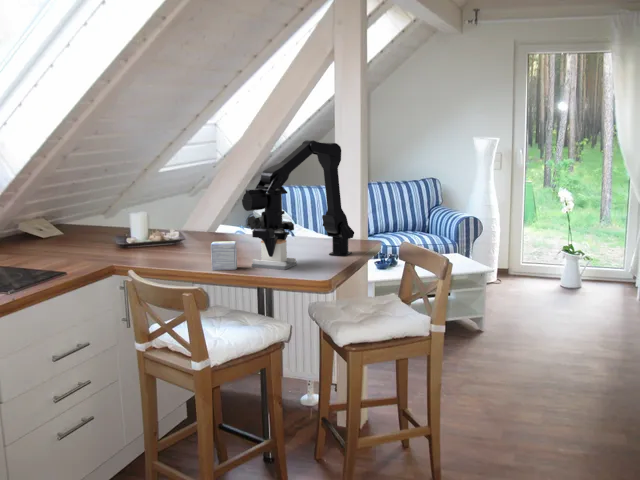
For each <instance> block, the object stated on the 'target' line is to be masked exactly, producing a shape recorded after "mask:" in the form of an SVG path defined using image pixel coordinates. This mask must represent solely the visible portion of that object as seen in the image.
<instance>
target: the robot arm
mask: <svg viewBox="0 0 640 480" xmlns="http://www.w3.org/2000/svg"><path fill="white" fill-rule="evenodd" d="M312 155H314V156H315V155H316V156H317V160H318V163H319V165H320V166H321V168H322V170H323V178H324V187H325V198H326V206H327V207H326V208H327V210H326V212H325V213H324V214H323V215H321V218H322V219H321V220H322V227H323V228H324V231H326V234H327V237H329V238H330V237H331V238H332V239H331V240H332V241H331V243H332V251H331V252H329V253H328V255H329V256H341V257H347V256H349V255H351V254H352V253H353V252H352V251H349V240H350V239H354V235H355V232H354V230H353V229H352V228H351V226H349V225H350V224H349V222H348V218H347V215H346V213H345V212H344V210H343V208H342V200H341V199H342V198H341V191H340V189H341V188H340V180H339V167H340V163H341V162H342V147H341V145H340V144H338V143H336V142H320V141H316V140H311V139H310V140H309V139H307V140H304V141H303V142H302V143H301V144H300V145H299V146H298V147H297V148H295V149H294V150H293V151H292V152H291V153H290V154H289V155H288V156H287V157H285V158H284V159H283V160H281V161H280V162H279V163H277V164H273V165H271V166H270V167H268V168H266V169H264V170H263V171H262V172H261V174H260V178H259V180H258V182H257V184H256V185H255V187H254V189H247V188H246V189H245V193H244V194H243V196H242V199H241V205H242V207H243V209H244V210H245V211H246V212H250V211H261V210H262V212H261V215H260V216H258V217H255V216H254V215H252V216H250V217H247V221H246V223H247V224H246V225H247V226H248V227H249V228H250V230H251V232H252V235H251V237H252V238H256V239H257V238H258V239H260V240H261V241H262V240H263V241H264V243H265V246H266V249H267V252H268V254H269V257H272V256H273V254H274V250H275V246H276V242H277V239H279V240H286V241H287V238H288V236H289V235H290V232H292V231H294V230H295V224H294V223H293V222H292V221H283V215H285V213H286V211H285V210H283V195H286V194H288V191H287V190H286V189H285V188H284V187H283V186H284V185H285V183H286V182H287V181H288V179H289V177H290V174H291V173H292V172H293V171H295V170H296V168H298V167H299V166H300V165H301V164H302V163H304V162H305V161H306V160H307V159H308V158H309V157H311V156H312ZM263 210H264V211H263ZM287 230H288V231H287Z"/></svg>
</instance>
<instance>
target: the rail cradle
mask: <svg viewBox="0 0 640 480" xmlns="http://www.w3.org/2000/svg"><path fill="white" fill-rule="evenodd" d="M296 260H297V258H295V257H287V261H285V262H277V261H265V260H262V259H252V263H251V267H252V268H258V267H259V269H260V268H261V269H269V268H270V270H283V271H285V270H287V269H290V268H292V267H294V266H296V265H298V263H297V262H298V261H296Z"/></svg>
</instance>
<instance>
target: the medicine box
mask: <svg viewBox="0 0 640 480" xmlns="http://www.w3.org/2000/svg"><path fill="white" fill-rule="evenodd" d="M237 249H238V248H237V241H233V240H232V241H212V243H211V244H210V255H211V256H210V257H211V260H210V261H211V271H220V270H221V271H223V270H224V271H226V270H228V271H229V270H230V271H231V270H233V271H235V270H237V269H238V254H237V252H238V250H237Z"/></svg>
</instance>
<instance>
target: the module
mask: <svg viewBox="0 0 640 480" xmlns="http://www.w3.org/2000/svg"><path fill="white" fill-rule="evenodd" d="M260 244H261V245H260V247H261V248H260V249H261V260H265V261H277V262H285V261H287V258H288V255H287V254H288V252H287V251H288V250H287V249H288V248H287V245H288V244H287V239H286V240H279V239H277V242H276V246H275V250H274V254H273V256H272V257H269V254H268V252H267V249H266V246H265V243H264V241H263V240H262V239H261V242H260Z"/></svg>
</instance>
